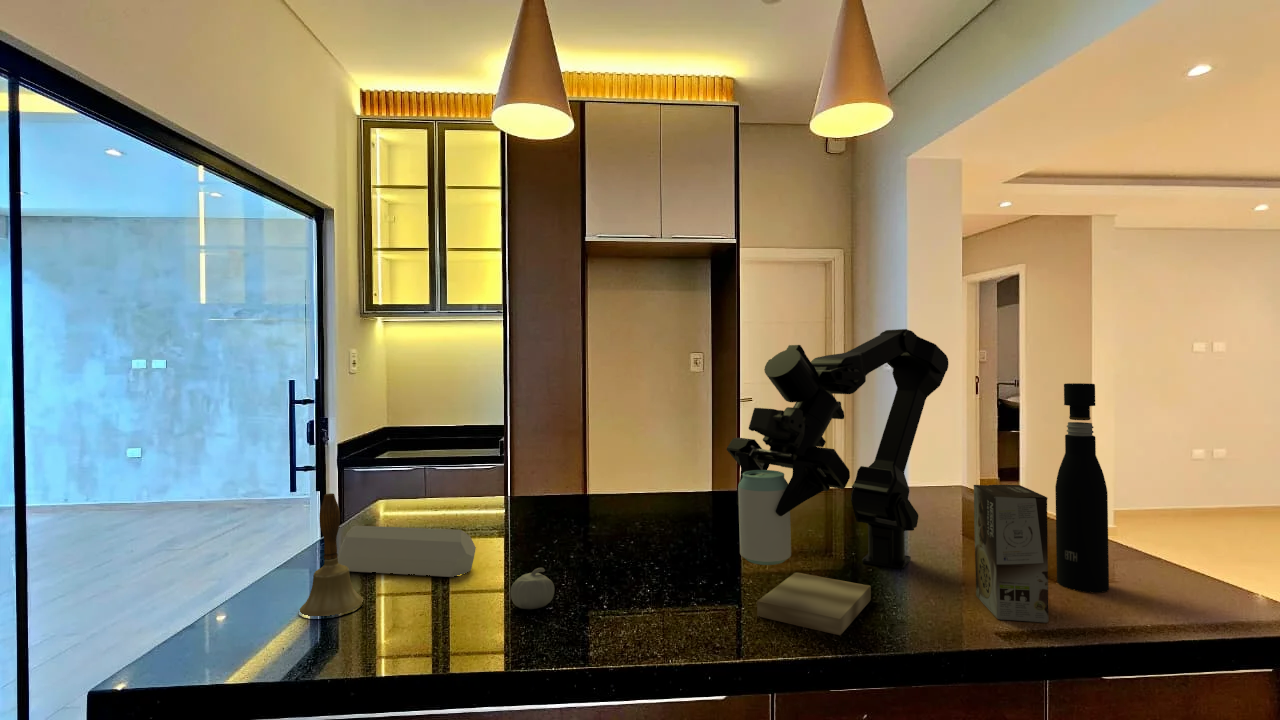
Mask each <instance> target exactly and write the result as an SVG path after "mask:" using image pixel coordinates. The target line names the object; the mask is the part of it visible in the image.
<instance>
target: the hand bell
mask: <svg viewBox="0 0 1280 720" xmlns="http://www.w3.org/2000/svg"><path fill="white" fill-rule="evenodd" d="M340 523H341V512H340V507H339V504H338V501H337V500H336V496H335V493H325V494H324V495H323V499H322V502H321V505H320V509H319V527H320V530H321V533H322V537H323V542H324V544H323V545H324V549H323V551H324V552H323V553H324V555H323V558H324V564H323V566H321V567H320V568H318V569H317V570H315V572H313V577H312V585H311V590H310V593H309V595H308V598H307V599H306V601H305V602H304V603H303V604H302V605H301V607H300V608H299V610H300V612H301V613H302V614H304V615H308V616H330V615H335V614H340V613H344V612H347V611H350V610H353V609H355V608H357V607H358V606H359V605H361V604H362V602H363V600H364V598H363V597H362V596H361V595H360V594H358V592H357V591H356V590H355V589H354V588H355V587H354V586H353V584H352V581H351V576H350V575H351V574H350V571H349V569H348V567H347V566H344V565H341V564H339V563H338V558H339V554H338V545H337V544H338V543H337V540H338V539H337V538H338V532H339V528H340Z"/></svg>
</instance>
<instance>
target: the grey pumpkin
mask: <svg viewBox="0 0 1280 720" xmlns="http://www.w3.org/2000/svg"><path fill="white" fill-rule="evenodd" d="M544 572H545V568H544V567H538V568H535V569H534V570H533V571H532V572H529V573H525V574H522V575H521V576H520V577H518V578H517V579H516V580H515V581H514V582H513V583H512V585H511V588H510V599H511V601H512V603H513V604H514V605H515V606H516V607H517V608H518V609H521V610H536V609H541V608H545V607H546V606H547V605H548V604H550V603H551V602H552V600H553V598H554V595H555V585H554V582H553V581H552V580H551V579H549V577H548V576H546V575H543V574H542V573H544Z"/></svg>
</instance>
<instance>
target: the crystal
mask: <svg viewBox="0 0 1280 720" xmlns="http://www.w3.org/2000/svg"><path fill="white" fill-rule="evenodd" d="M476 548H477V547H476V545H475V543H474V540H473V539H472V536H471V535H469V534H467V533H466V532H465V531H463V530H462V529H450V528H446V529H445V528H428V527H427V528H423V527H398V526H377V525H376V526H375V525H374V526H373V525H352V527H351V528H350V529H349V530H348V531H347V532H346V534H345V536H344V538H343V541H342V543H341V545H340V547H339V551H338V563H339V564H341V565H344V566H347V567H348V569H349V572H356V573H357V572H358V573H372V572H376V573H375V574H390V573H393V574H394V575H395V574H396V575H408V574H410V575H411V574H412V575H411V576H426V575H428V576H429V575H430V576H431V577H445V578H446V577H448V578H455V577H454V576H457V575H460V574H464V573H466V574H468V573H469V572H471V570H472V567H473V565H474V564H473V562H474V560H475V554H476V550H477V549H476ZM467 572H468V573H467ZM413 574H415V575H413ZM430 576H429V577H430Z"/></svg>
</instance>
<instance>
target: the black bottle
mask: <svg viewBox="0 0 1280 720" xmlns="http://www.w3.org/2000/svg"><path fill="white" fill-rule="evenodd" d="M1063 402H1064V403H1063V406H1069V416H1068V417H1069V420H1070V421H1069V422H1067V425H1066V428H1067V430H1066V434H1065V436H1064V443H1065V444H1064V449H1065V450H1064V451H1065V453H1064V455H1063V458H1062V460H1061V463H1060V466H1059V468H1058V472H1057V476H1056V482H1055V486H1054V487H1055V490H1054V491H1055V540H1056V542H1055V544H1056V545H1055V546H1056V547H1055V548H1056V549H1055V551H1056V552H1055V553H1056V554H1055V555H1056V582H1057V583H1058V585H1060V586H1062V587H1064V588H1066V587H1067V589H1069V588H1070V590H1073V589H1075V590H1074V591H1077V590H1078V591H1077V592H1083V591H1084V592H1083V593H1091V592H1093V594H1095V593H1096V594H1097V593H1098V594H1100V593H1101V594H1102V593H1106V592H1108V591H1109V590H1110V572H1109V571H1110V570H1109V569H1110V568H1109V567H1110V566H1109V565H1110V564H1109V561H1110V560H1109V512H1108V511H1109V506H1108V503H1109V501H1108V498H1109V497H1108V494H1109V493H1108V487H1107V482H1106V479H1105V475H1104V471H1103V470H1102V467H1101V464H1100V462H1099V459H1098V457H1097V455H1096V454H1097V451H1096V449H1097V446H1096V443H1097V441H1096V436H1095V435H1093V433H1095V432H1094V430H1093V429H1094V426H1093V423H1092V422H1084V421H1090V420H1091V419H1092V418H1091V410H1090V409H1091V407H1095V406H1096V384H1095V383H1085V382H1084V383H1081V382H1080V383H1078V382H1077V383H1075V382H1073V383H1070V382H1069V383H1063ZM1071 420H1072V421H1071ZM1078 421H1080V422H1078Z"/></svg>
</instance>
